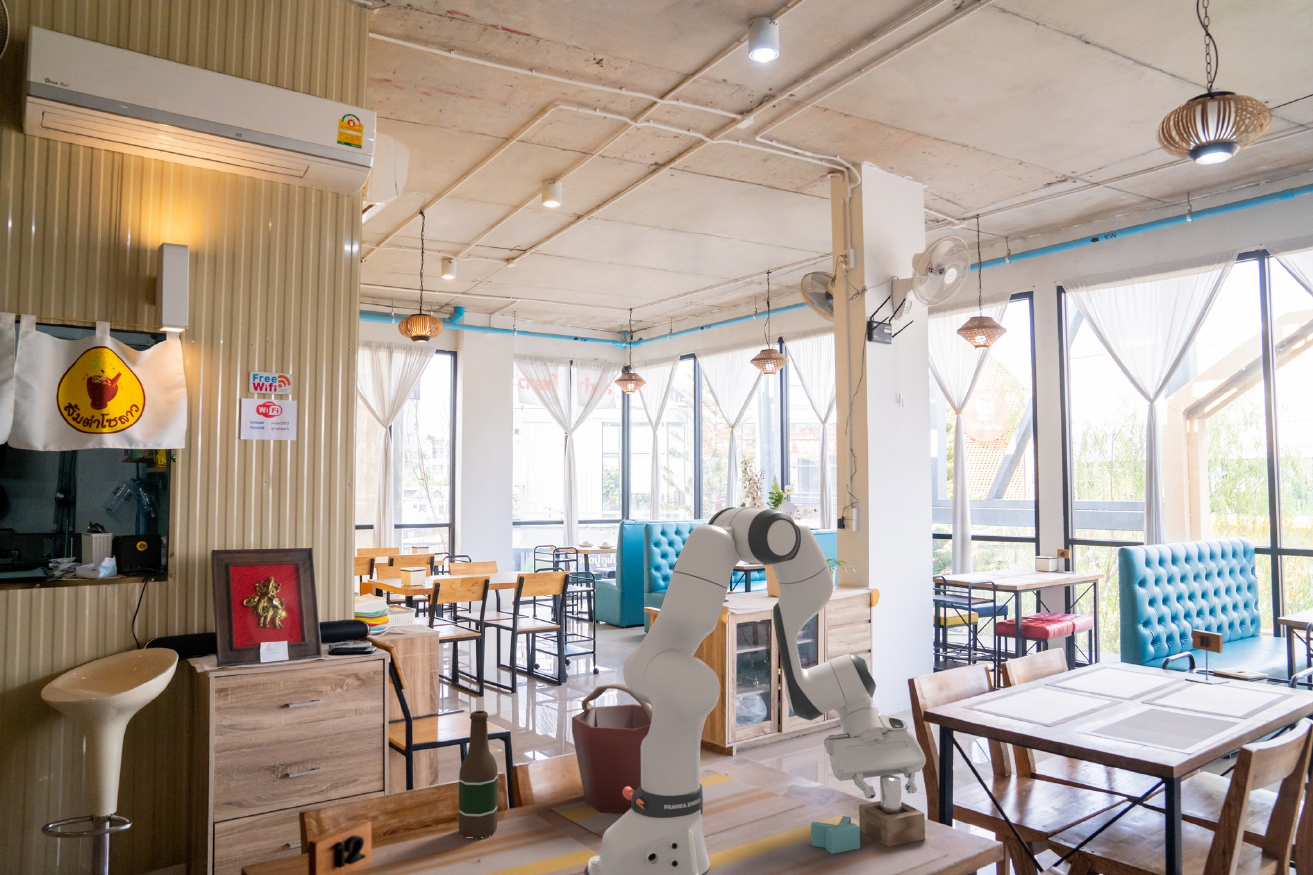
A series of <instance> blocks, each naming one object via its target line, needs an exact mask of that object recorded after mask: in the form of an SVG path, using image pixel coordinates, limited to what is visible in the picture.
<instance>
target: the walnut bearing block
mask: <svg viewBox="0 0 1313 875" xmlns="http://www.w3.org/2000/svg"><path fill="white" fill-rule="evenodd" d="M901 808H902V813H898V814H893V815H887V814H886V813H884V812H882V811H881V800H879V801H878V800H877V801H873V802H868V803H867V802H866V803H862V804H858V813H859V814H858V816H859V817H858V820H859V829H860V832H862V833H864V834H866V835H867V836H869V837H870V838H872V839H874V840H876V841H877V842H879V843H881V844H882V845H884V846H886V848H887V847H894V846H899V845H902V844H903V845H904V844H908V843H915V842H918V841H923V840H925V839H926V826H925V824H926V823H925V812H923V811H921V810H920V809H917V808H915V807H913V806H911V805H909V804H907V803H906V802H903V801H901Z"/></svg>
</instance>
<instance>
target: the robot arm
mask: <svg viewBox="0 0 1313 875" xmlns="http://www.w3.org/2000/svg"><path fill="white" fill-rule="evenodd" d="M740 561H741V562H744V563H749V564H765V565H770V566H771V567H772V571H773V573H774V576H775V578H776V581H777V585H778V590H779V593H778V594H779V595H778V600H777V602H776V603H775V604H774V605H773V609H772V617H773V618H772V619H773V624H774V632H775V637H776V642H777V647H778V652H779V657H780V662H781V666H782V670H783V677H784V685H785V686H784V690H785V691H784V692H785V697H786V701H787V705H788V707H789V708H790V710H791V711H792V713H793V714H794V715H795V716H797V717H798V718H801V719H804V720H807V721H810V722H811V721H813V720H815V719H817V718H820V717H822V716H824V715H825V714H826V713H830V712H832V711H834V712H835V713H836V714H837V715H838V719H839V725H840V727H841V730H842V732H843V733H840V734H829V735H828V736H827V737H826V738H825V739H824V740H823V745H824V748H825V751H826V753H827V754H828V758H829V762H830V766H831V771H832V772H833V776H834V778H836V779H837V780H838V781H840V782H841V781H842V782H843V781H851V780H853V782H854V785H855V786H856V787H858V788H859V789H860V791H862V792H863V794H864V796H865V798H866V800H869V799H870V800H871V799H874V798H875V797H876V794H877V793H876V791H875V789H874V786H873V785H872V786H871V785H870V786H869V785H868V784H867V782H865V780H864V779H868V778H869V779H870V778H877V777H878V778H879V777H881V776H883V775H894V776H896V775H903V776H904V778H905V779H907V782H906V784H905V785H904V788H905V790H906V793H907V794H909V795H910V794H915V793H916V792H917V791H918V787H917V785H916V783H915V778H916V773H919V772H921V770H922V769H924V767H925V765H926V762H927V758H926V755H925V753H924V751H923V749H922V747H921V745H920V743H919V742H918V740H917V738H916V737H915V735H914V734H912V732H910V731H908V729H909V725H908V723H907V721H906V720H905V719H901V718H898V717H894V716H893V717H892V716H890V715H885V714H883V713H880V710H879V709H878V708H877V706H876V705H875V704H874V700H873V697H874V694H875V691H876V688H877V684H876V681H875V679H874V678H873V676H872V675H871V672H869V667H868V665H867V661H866V660H865V659H864V658H862V657H861V656H858V655H857V654H854V653H850V652H849V653H846V654H843V655H840V656H837V657H834V658H831V659H829V660H828V661H825V662H822V663H819V664H817V665H813V666H811V667H808V668H802V664H801V657H800V652H799V647H798V643H797V641H798V635H799V633H800V632H801V630H802V629H803V628H804V626H805V625H806V624H807V623H808V622H809V621H810V620H812V619H813V618H814V617H815V616H817V615H818V614H819V613H820V612H821V611H822V610H823V609H824V607H825V606H827V604H828V602H829V601H830V600H831V597H832V595H833V591H834V580H833V576H832V572H831V569H830V567H829V564H828V561H827V559H826V556H825V554H824V552H823V550H822V547H821V546H820V544H819V542H818V539H817V538H816V537H815V535H814V533H813V532H812V530H811V529H810V527H809V526H808V525H807V524H806V523H805V522H804V521H802V520H799V519H792V518H791V517H790V515H787V514H786V513H784V512H782V511H780V510H777V509H772V508H771V509H768V508H767V509H765V508H758V507H755V506H743V507H735V506H732V507H728V508H724V509H721V510H719V511H718V512H716V513H715V514H714V515H713V516H712V517H711V518H710V519H709V521H708V523H707V524H701V525H698V526H696V527H695V528H692V530H691V531H690V533H689V535H688V536H687V538H686V540H685V542H684V543H683V546H682V548H681V550H680V552H679V555H678V558H677V559H676V561H675V564H674V568H673V571H672V574H671V577H670V580H669V584H668V586H667V590H666V592H665V595H664V599H663V602H662V604H661V608H660V609H659V612H658V614H657V615H656V617H655V620H654V621H653V624H651V627H650V628H649V629H648V632H647V633H646V635H645V637H644V638H643V640H642V641H641V642H640V644H639V645H638V646H637V647H636V648H634V649H633V650H632V651H631V652H630V653H628V655H627V657H626V659H625V661H624V664H623V668H622V676H623V679H624V683H625V685H627V686H628V687H629V689H630V690H631V691H632V692H633V693H634V694H635V695H636V697H638V698H639V699H640V700H642V701H644V702H646V703H649V704H651V706H652V711H653V713H652V720H651V725H650V729H649V732H648V734H647V736H645V738H644V739H643V740H642V743H641V784H640V785H639V787H638V789H637V790H636V791H634V790H633V789H632V788H631V787H629V786H627V787H625V788H624V790H623V792H622V793H623V796H624V797H625V798H626V799H627V800H631V806H632V807H631V808H630V809H629V810H628V811H627V812H626V813H625V814H622V816H620V817H619V818H618V819H617V820H616V821H615V822H614V823H613V824H611V826H610V827H608V828H607V829H606V830H605V831H604V832H603V834H602V837H601V842H600V849H599V854H598V855H594V856H592V857H590V858H589V860H587V861H588V862H587V873H588V875H704V874H705V873H706V872H707V871H708V870H709V869H710V866H711V861H710V857H709V855H708V851H707V846H706V841H705V837H704V830H703V829H704V828H703V819H702V816H703V811H704V796H703V795H704V794H703V793H704V792H703V785H702V783H701V741H702V735H703V731H704V727H705V723H706V720H707V717H708V716H709V714H711V712H713V710H714V709H715V708H716V706H717V704H718V702H719V699H720V695H721V683H720V679H719V677H718V675H717V673H716V672H715V671H714V669H712V668H711V667H710V666H709V665H708V664H707V663H705V662H704V661H703V660H702V659H701V658H699V657H696V656H695V653H696V652H697V650H698V649H699V647H700V646H701V643H702V642H703V641H704V640H705V638H706V637H707V636H709V635H711V634H712V633H713V632H714V631H715V630H716V627H717V625H718V622H719V620H720V616H721V612H722V609H723V605H724V602H725V599H726V596H727V592H728V588H729V586H730V582H731V577H732V574H733V571H734V570H735V567H736V566H737V564H738V563H739V562H740Z"/></svg>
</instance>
